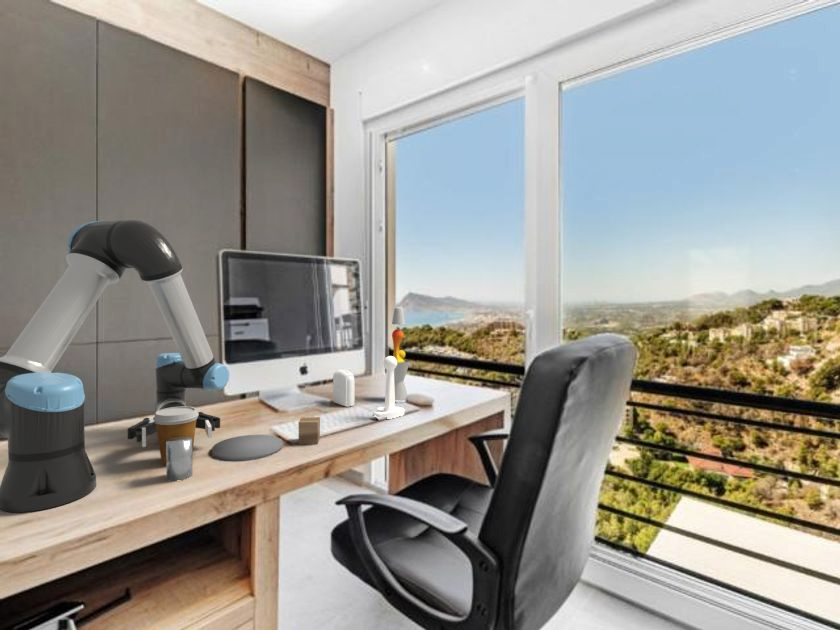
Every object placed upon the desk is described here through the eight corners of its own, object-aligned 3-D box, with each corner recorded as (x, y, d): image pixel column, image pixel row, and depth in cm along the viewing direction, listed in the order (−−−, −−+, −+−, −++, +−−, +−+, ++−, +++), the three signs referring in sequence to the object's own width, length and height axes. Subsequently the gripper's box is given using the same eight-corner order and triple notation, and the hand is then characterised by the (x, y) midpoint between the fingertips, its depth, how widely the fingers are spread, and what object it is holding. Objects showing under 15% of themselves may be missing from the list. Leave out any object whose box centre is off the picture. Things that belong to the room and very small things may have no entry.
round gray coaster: (258, 464, 108) (258, 459, 108) (196, 456, 112) (196, 452, 112) (295, 441, 124) (295, 437, 124) (240, 435, 129) (240, 432, 129)
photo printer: (331, 402, 169) (331, 368, 169) (341, 400, 172) (341, 367, 171) (345, 407, 161) (345, 372, 161) (356, 406, 164) (356, 371, 163)
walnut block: (317, 444, 123) (317, 421, 122) (298, 444, 122) (298, 422, 122) (319, 438, 128) (320, 416, 127) (301, 438, 127) (301, 417, 127)
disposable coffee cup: (184, 451, 116) (183, 404, 115) (207, 458, 111) (207, 409, 110) (145, 463, 108) (144, 412, 107) (168, 471, 103) (168, 418, 102)
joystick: (381, 421, 145) (381, 358, 144) (366, 417, 150) (366, 355, 149) (406, 415, 152) (407, 355, 151) (391, 411, 158) (392, 353, 157)
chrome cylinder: (180, 482, 97) (180, 444, 97) (161, 479, 98) (160, 442, 98) (197, 473, 102) (197, 437, 102) (178, 470, 103) (178, 435, 103)
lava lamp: (398, 404, 167) (399, 308, 165) (380, 400, 172) (381, 307, 171) (414, 400, 174) (415, 307, 172) (396, 396, 179) (397, 306, 178)
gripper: (222, 422, 132) (235, 444, 114) (118, 435, 119) (114, 461, 101) (222, 396, 132) (235, 413, 114) (118, 406, 119) (113, 428, 101)
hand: (178, 436), depth 107 cm, fingers open, 13 cm apart
